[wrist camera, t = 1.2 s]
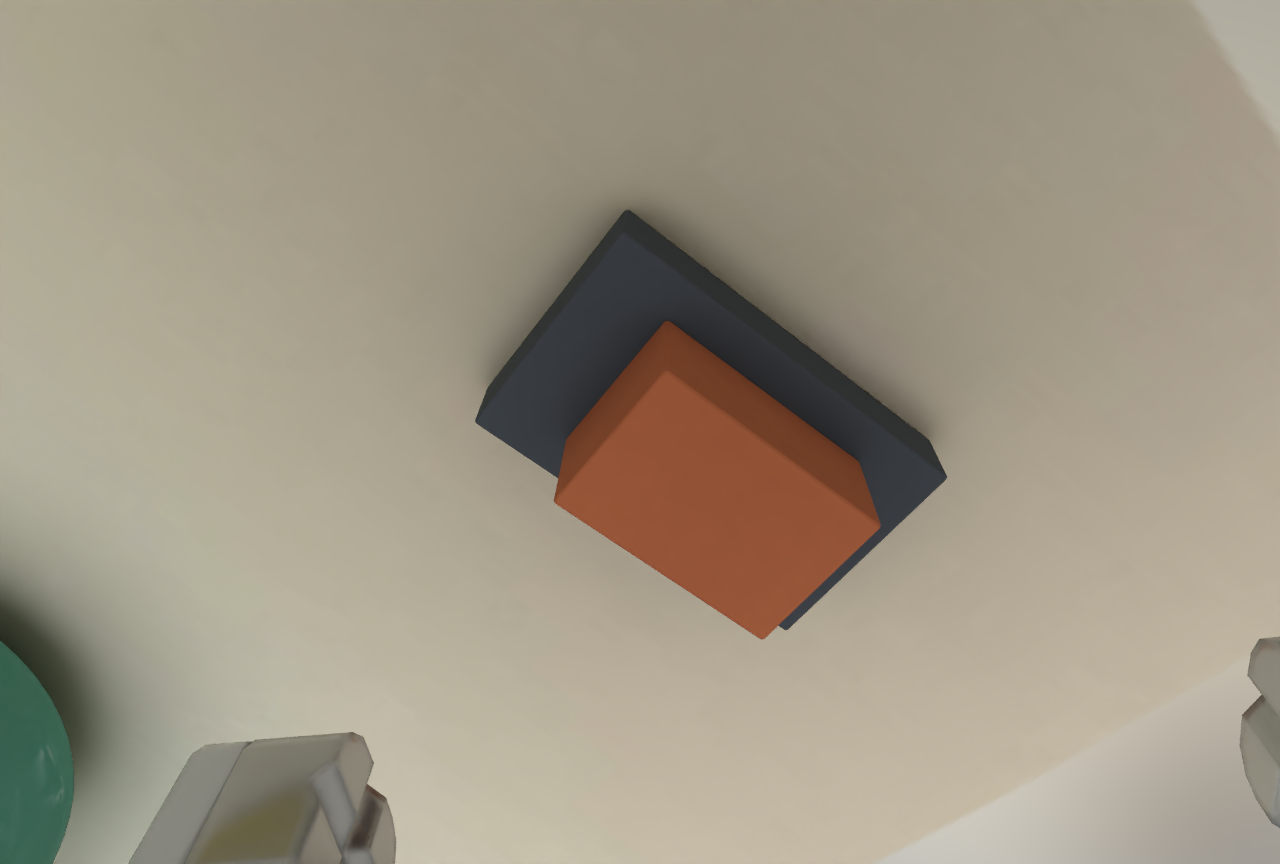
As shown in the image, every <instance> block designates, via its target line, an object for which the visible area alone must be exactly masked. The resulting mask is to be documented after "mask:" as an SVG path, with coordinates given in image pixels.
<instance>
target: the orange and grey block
mask: <svg viewBox="0 0 1280 864" xmlns="http://www.w3.org/2000/svg"><path fill="white" fill-rule="evenodd" d="M475 422H476V423H477V424H478V425H479V426H481V427H482V428H484V429H485V430H487V431H488V432H490V433H491V434H493V435H494V436H496V437H497V438H499V439H500V440H502V441H503V442H505V443H506V444H508V445H509V446H511V447H512V448H514V449H515V450H517V451H518V452H520V453H521V454H523V455H524V456H526V457H527V458H529V459H530V460H532V461H533V462H535V463H536V464H538V465H539V466H541V467H542V468H544V469H545V470H547V471H548V472H550V473H551V474H553V475H554V476H556V477H557V478H558V483H557V488H556V493H555V498H554V502H555V503H556V504H557V505H558V506H560V507H561V508H563V509H564V510H566V511H568V512H569V513H571V514H572V515H574V516H575V517H577V518H578V519H580V520H581V521H583V522H584V523H586V524H587V525H589V526H590V527H592V528H593V529H595V530H596V531H598V532H599V533H601V534H602V535H604V536H605V537H607V538H608V539H610V540H611V541H613V542H614V543H616V544H617V545H619V546H620V547H622V548H624V549H625V550H627V551H628V552H630V553H631V554H633V555H634V556H636V557H637V558H639V559H640V560H642V561H643V562H645V563H646V564H648V565H649V566H651V567H652V568H654V569H655V570H657V571H658V572H660V573H661V574H663V575H664V576H666V577H667V578H669V579H670V580H672V581H673V582H675V583H677V584H678V585H680V586H681V587H683V588H684V589H686V590H687V591H689V592H690V593H692V594H693V595H695V596H696V597H698V598H699V599H701V600H702V601H704V602H705V603H707V604H708V605H710V606H711V607H713V608H714V609H716V610H717V611H719V612H720V613H722V614H723V615H725V616H726V617H728V618H729V619H731V620H733V621H734V622H736V623H737V624H739V625H740V626H742V627H743V628H745V629H746V630H748V631H749V632H751V633H752V634H754V635H755V636H757V637H758V638H760V639H765V638H766V637H767V636H768V635H769V634H770V633H771V632H772V631H773V630H774V629H775V628H776V627H777V626H780V627H781V628H783V629H784V630H788V629H789V628H790V627H791V626H792V625H793V624H794V623H795V622H796V621H797V620H798V619H799V618H800V617H802V616H803V615H804V614H805V613H806V612H807V611H808V610H809V609H810V608H811V607H812V606H813V605H814V604H815V603H816V602H817V601H818V600H819V599H820V598H822V597H823V596H824V595H825V594H826V593H827V592H828V591H829V590H830V589H831V588H832V587H833V586H834V585H835V584H836V583H837V582H838V581H839V580H840V579H842V578H843V577H844V576H845V575H846V574H847V573H848V572H849V571H850V570H851V569H852V568H853V567H854V566H855V565H856V564H857V563H858V562H859V561H861V560H862V559H863V558H864V557H865V556H866V555H867V554H868V553H869V552H870V551H871V550H872V549H873V548H874V547H875V546H876V545H877V544H878V543H879V542H881V541H882V540H883V539H884V538H885V537H886V536H887V535H888V534H889V533H890V532H891V531H892V530H893V529H894V528H895V527H896V526H897V525H898V524H899V523H901V522H902V521H903V520H904V519H905V518H906V517H907V516H908V515H909V514H910V513H911V512H912V511H913V510H914V509H915V508H916V507H917V506H918V505H919V504H921V503H922V502H923V501H924V500H925V499H926V498H927V497H928V496H929V495H930V494H931V493H932V492H933V491H934V490H935V489H936V488H937V487H938V486H940V485H941V484H942V483H943V482H944V481H945V480H946V478H947V476H946V474H945V472H944V469H943V467H942V465H941V463H940V461H939V459H938V457H937V455H936V453H935V451H934V449H933V447H932V445H931V443H930V441H929V440H928V439H927V438H925V437H924V436H923V435H921V434H920V433H919V432H918V431H916V430H915V429H914V428H912V427H911V426H910V425H908V424H907V423H906V422H905V421H903V420H902V419H901V418H899V417H898V416H897V415H895V414H894V413H893V412H892V411H890V410H889V409H888V408H886V407H885V406H884V405H882V404H881V403H880V402H878V401H877V400H876V399H875V398H873V397H872V396H871V395H869V394H868V393H867V392H865V391H864V390H863V389H862V388H860V387H859V386H858V385H856V384H855V383H854V382H852V381H851V380H850V379H848V378H847V377H846V376H845V375H843V374H842V373H841V372H839V371H838V370H837V369H835V368H834V367H833V366H832V365H830V364H829V363H828V362H826V361H825V360H824V359H822V358H821V357H820V356H818V355H817V354H816V353H815V352H813V351H812V350H811V349H809V348H808V347H807V346H805V345H804V344H803V343H802V342H800V341H799V340H798V339H796V338H795V337H794V336H792V335H791V334H790V333H788V332H787V331H786V330H785V329H783V328H782V327H781V326H779V325H778V324H777V323H775V322H774V321H773V320H772V319H770V318H769V317H768V316H766V315H765V314H764V313H762V312H761V311H760V310H758V309H757V308H756V307H755V306H753V305H752V304H751V303H749V302H748V301H747V300H745V299H744V298H743V297H742V296H740V295H739V294H738V293H736V292H735V291H734V290H732V289H731V288H730V287H729V286H727V285H726V284H725V283H723V282H722V281H721V280H719V279H718V278H717V277H715V276H714V275H713V274H712V273H710V272H709V271H708V270H706V269H705V268H704V267H702V266H701V265H700V264H699V263H697V262H696V261H695V260H693V259H692V258H691V257H689V256H688V255H687V254H685V253H684V252H683V251H682V250H680V249H679V248H678V247H676V246H675V245H674V244H672V243H671V242H670V241H669V240H667V239H666V238H665V237H663V236H662V235H661V234H659V233H658V232H657V231H655V230H654V229H653V228H652V227H650V226H649V225H648V224H646V223H645V222H644V221H642V220H641V219H640V218H639V217H637V216H636V215H635V214H633V213H632V212H631V211H629V210H626V211H624V213H623V214H622V215H621V216H620V218H619V219H618V220H617V222H616V223H615V224H614V226H613V227H612V228H611V229H610V231H609V232H608V233H607V235H606V236H605V237H604V238H603V240H602V241H601V242H600V244H599V245H598V246H597V247H596V249H595V250H594V251H593V253H592V254H591V255H590V256H589V258H588V259H587V260H586V262H585V263H584V264H583V266H582V267H581V268H580V269H579V271H578V272H577V273H576V275H575V276H574V277H573V278H572V280H571V281H570V282H569V284H568V285H567V286H566V287H565V289H564V290H563V291H562V293H561V294H560V295H559V296H558V298H557V299H556V300H555V302H554V303H553V304H552V306H551V307H550V308H549V309H548V311H547V312H546V313H545V315H544V316H543V317H542V318H541V320H540V321H539V322H538V324H537V325H536V326H535V327H534V329H533V330H532V331H531V333H530V334H529V335H528V337H527V338H526V339H525V340H524V342H523V343H522V344H521V346H520V347H519V348H518V349H517V351H516V352H515V353H514V355H513V356H512V357H511V358H510V360H509V361H508V362H507V364H506V365H505V366H504V367H503V369H502V370H501V371H500V373H499V374H498V375H497V377H496V378H495V379H494V380H493V382H492V383H491V384H490V386H489V387H488V388H487V391H486V394H485V396H484V399H483V401H482V404H481V407H480V409H479V412H478V414H477V417H476V420H475Z"/></svg>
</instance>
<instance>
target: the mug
mask: <svg viewBox="0 0 1280 864" xmlns="http://www.w3.org/2000/svg"><path fill="white" fill-rule="evenodd" d="M73 792H74V772H73V761H72V754H71V750H70V744H69V739H68V736H67V733H66V731H65V728H64V725H63V722H62V719H61V718H60V716H59V714H58V712H57V710H56V708H55V706H54V704H53V702H52V700H51V698H50V696H49V695H48V693H47V692H46V691H45V689H44V688H43V686H42V685H41V683H40V682H39V680H38V679H37V678H36V676H35V675H34V674H33V673H32V672H31V670H30V669H29V668H28V667H27V666H26V665H25V664H24V663H23V662H22V661H21V659H20V658H19V657H18V656H17V655H16V654H15V653H13V652H12V651H11V650H10V649H9V648H8V647H7V646H6V645H5V644H4V643H2V642H1V641H0V864H52V863H53V861H54V859H55V857H56V854H57V852H58V850H59V848H60V845H61V842H62V840H63V837H64V835H65V831H66V828H67V824H68V821H69V817H70V812H71V807H72V801H73Z"/></svg>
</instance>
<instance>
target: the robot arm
mask: <svg viewBox="0 0 1280 864" xmlns="http://www.w3.org/2000/svg"><path fill="white" fill-rule="evenodd" d="M1248 677H1249V678H1250V679H1251V681H1252V682H1253V683H1254V685H1255V686H1256V687H1257V689H1258V690H1259V691H1260V693H1261V694H1262V695H1261V696H1260V697H1259V698H1258V699H1257V700H1256V701H1255V702H1254V703H1253V704H1252V706H1250V707H1249V709H1248V710H1247V711H1246V712H1245V713H1244V714H1243V715H1242V723H1241V735H1240V749H1241V754H1242V759H1243V764H1244V769H1245V773H1246V777H1247V779H1248V782H1249V784H1250V786H1251V788H1252V790H1253V793H1254V795H1255V798H1256V799H1257V801H1258V803H1259V804H1260V806H1261V807H1262V809H1263V810H1264V812H1265V813H1266V815H1267V816H1268V818H1269V820H1270V821H1271V823H1272V824H1274V825H1276V826H1278V827H1279V828H1280V637H1272V638H1263V639H1259V641H1258V642H1257V644H1256V645H1255V647H1254V649H1253V650H1252V652H1251V656H1250V663H1249V669H1248ZM373 764H374V762H373V760H372V757H371V755H370V752H369V750H368V747H367V745H366V742H365V740H364V737H362V736H360V735H358V734H356V733H353V732H350V733H337V734H325V735H312V736H299V737H286V738H274V739H261V740H255V741H253V742H235V743H223V744H210V745H205V746H203V747H202V748H200V749H199V750H197V751H196V752H194V753H193V754H192V755H191V756H190V758H189V759H188V761H187V763H186V765H185V766H184V768H183V770H182V771H181V773H180V775H179V777H178V778H177V780H176V782H175V784H174V785H173V787H172V789H171V791H170V792H169V794H168V796H167V797H166V799H165V801H164V803H163V804H162V806H161V808H160V810H159V811H158V813H157V815H156V816H155V818H154V820H153V822H152V823H151V825H150V827H149V829H148V830H147V832H146V834H145V836H144V837H143V839H142V841H141V842H140V844H139V846H138V848H137V849H136V851H135V853H134V855H133V856H132V858H131V860H130V862H129V863H128V864H395V854H396V837H395V830H394V823H393V817H392V814H391V811H390V808H389V805H388V802H387V799H386V798H385V797H384V796H383V795H381V794H380V793H379V792H377V791H376V790H375V789H373V788H372V787H370V786H369V785H368V784H367V782H368V779H369V776H370V773H371V770H372V767H373Z"/></svg>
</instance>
